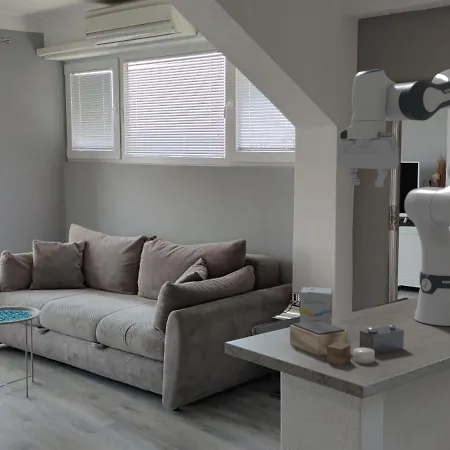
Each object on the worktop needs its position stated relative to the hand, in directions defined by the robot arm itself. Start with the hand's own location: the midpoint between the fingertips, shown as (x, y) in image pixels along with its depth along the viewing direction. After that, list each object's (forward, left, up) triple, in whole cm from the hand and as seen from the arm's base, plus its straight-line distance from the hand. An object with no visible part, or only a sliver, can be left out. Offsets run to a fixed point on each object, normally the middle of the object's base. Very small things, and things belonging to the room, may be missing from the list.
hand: (366, 186), depth 181 cm
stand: (+16, +1, -41) cm, 44 cm away
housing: (+3, +10, -41) cm, 42 cm away
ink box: (+7, -12, -41) cm, 43 cm away
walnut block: (+19, +13, -41) cm, 47 cm away
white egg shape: (+13, +15, -41) cm, 45 cm away
